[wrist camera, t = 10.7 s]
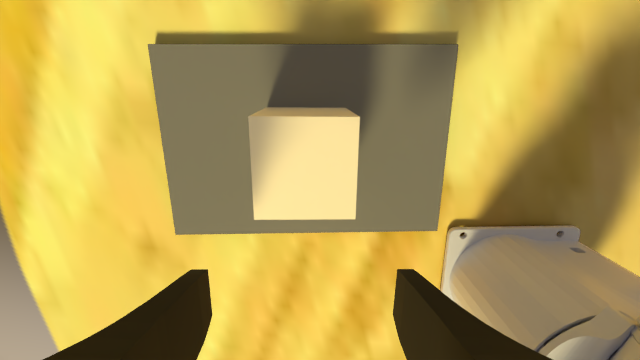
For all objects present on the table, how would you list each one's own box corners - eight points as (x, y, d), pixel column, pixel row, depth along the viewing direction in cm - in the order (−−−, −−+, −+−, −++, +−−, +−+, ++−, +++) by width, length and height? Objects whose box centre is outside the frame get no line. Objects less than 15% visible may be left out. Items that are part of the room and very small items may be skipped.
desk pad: (452, 46, 19) (458, 44, 19) (433, 225, 23) (437, 230, 22) (154, 45, 19) (147, 44, 18) (180, 229, 22) (175, 234, 21)
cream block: (345, 107, 19) (360, 116, 14) (343, 182, 21) (355, 219, 15) (266, 107, 19) (248, 116, 14) (269, 182, 21) (254, 219, 15)
